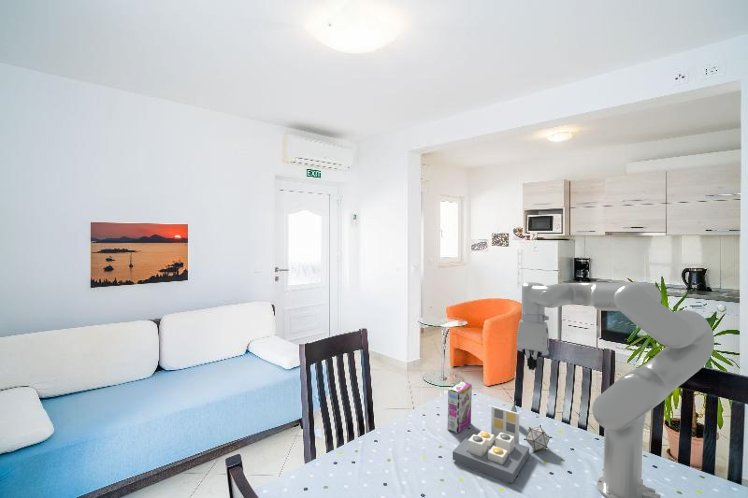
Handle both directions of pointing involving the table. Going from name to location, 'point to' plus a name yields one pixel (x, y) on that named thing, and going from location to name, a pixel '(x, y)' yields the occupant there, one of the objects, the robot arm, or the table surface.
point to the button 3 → (505, 442)
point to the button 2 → (489, 438)
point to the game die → (537, 438)
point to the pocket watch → (514, 407)
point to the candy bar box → (459, 407)
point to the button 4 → (498, 455)
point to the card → (505, 423)
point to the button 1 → (477, 445)
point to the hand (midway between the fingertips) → (532, 368)
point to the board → (491, 467)
